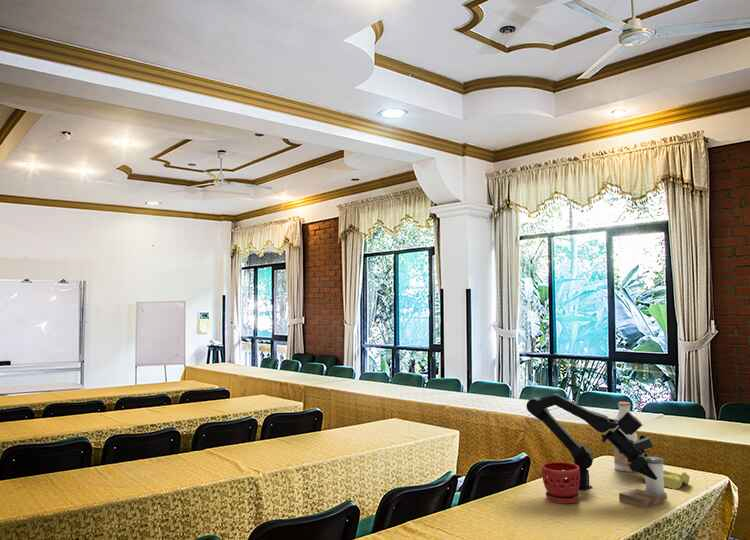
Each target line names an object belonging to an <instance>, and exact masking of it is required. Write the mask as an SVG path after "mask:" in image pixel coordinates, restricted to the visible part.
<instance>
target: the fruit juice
mask: <svg viewBox="0 0 750 540" xmlns="http://www.w3.org/2000/svg"><path fill="white" fill-rule="evenodd" d="M617 406H618V412H617V415H616V416H615V418H614V419H615V420H619V419H621V418H622V417H623V416H624V415H625V413H626V412H629V413H630V414H632V411H631V402H627V401H618V402H617ZM618 426H619V425H618ZM618 426H617V427H618ZM617 427H616V428H617ZM616 428H615V429H616ZM619 430H620V431H621V432H622V433H623V434H624V435H625V436H626V437H627V438H628V439H629V440H630V439H632V440H633V441H634V442H635V441H637V440H639V439H638V433H637V431H636V432H634V433H633V434H632V435H630V434H629V435H626V434H625V433H624V432H623V431H622V430H621V429H620V428H619ZM613 459H614V462H613V464H614V469H615V470H617V471H619V470H620V471H621V472H624V471H625V472H626V473H634V472H633V471H632V470H631V469H630V463H629V462H628V461H627V458H626V457H625V456H624V455H623V454H622V453H621V454H620V453H619V450H618V449H617V448H616V447H615V446H614V445H613ZM620 471H619V472H620Z"/></svg>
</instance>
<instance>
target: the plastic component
mask: <svg viewBox="0 0 750 540" xmlns="http://www.w3.org/2000/svg"><path fill="white" fill-rule="evenodd" d="M638 474H639V477H640V478H641V479H643V480H646V479H645V475H643V474H641V473H638ZM663 475H664V488H667V487H668V489H671V488H672V490H678V489H680V488H681V487H682V485H688V484H689V482H690V475H688V474H687V473H686V472H685V471H682V473H681V474H679V473H675V472H670V471H667V470H663Z"/></svg>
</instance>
